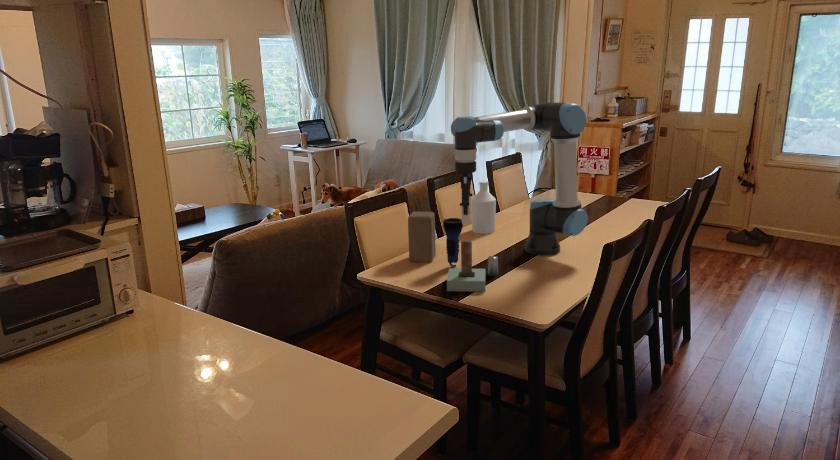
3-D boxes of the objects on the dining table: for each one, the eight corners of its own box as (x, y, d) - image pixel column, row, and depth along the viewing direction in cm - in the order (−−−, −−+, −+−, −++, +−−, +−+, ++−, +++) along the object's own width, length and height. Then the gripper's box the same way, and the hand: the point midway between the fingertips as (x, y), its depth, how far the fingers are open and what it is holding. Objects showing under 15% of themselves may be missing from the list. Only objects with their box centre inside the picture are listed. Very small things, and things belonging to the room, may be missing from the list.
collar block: (485, 278, 230) (485, 268, 229) (485, 291, 216) (485, 281, 215) (449, 278, 231) (449, 268, 230) (447, 291, 218) (446, 280, 217)
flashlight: (460, 271, 239) (459, 223, 234) (441, 269, 242) (440, 222, 236) (465, 265, 246) (465, 218, 241) (447, 263, 249) (446, 217, 244)
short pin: (498, 272, 236) (498, 255, 234) (498, 276, 232) (498, 259, 230) (488, 272, 236) (488, 255, 235) (488, 275, 233) (488, 258, 231)
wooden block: (431, 263, 250) (430, 217, 245) (408, 262, 252) (407, 216, 247) (436, 255, 260) (435, 211, 254) (413, 255, 262) (412, 211, 256)
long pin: (472, 282, 226) (471, 239, 221) (471, 286, 222) (471, 242, 217) (461, 282, 226) (461, 239, 222) (461, 286, 222) (460, 242, 218)
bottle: (479, 226, 305) (479, 178, 299) (500, 229, 298) (500, 180, 292) (467, 232, 296) (467, 182, 289) (488, 235, 289) (488, 184, 283)
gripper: (456, 155, 224) (457, 210, 230) (453, 166, 200) (454, 227, 206) (476, 155, 223) (477, 210, 229) (475, 166, 199) (476, 227, 205)
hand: (466, 218), depth 217 cm, fingers open, 13 cm apart
